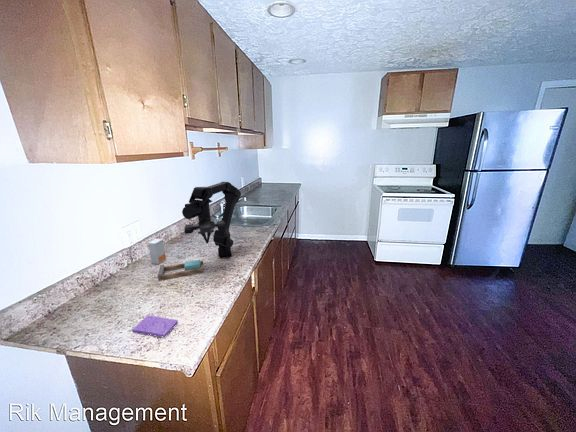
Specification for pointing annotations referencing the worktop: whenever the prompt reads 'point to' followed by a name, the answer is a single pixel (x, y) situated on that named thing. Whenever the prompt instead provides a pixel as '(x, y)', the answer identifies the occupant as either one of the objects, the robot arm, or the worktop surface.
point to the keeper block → (192, 265)
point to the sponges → (155, 325)
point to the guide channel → (177, 274)
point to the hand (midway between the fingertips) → (207, 243)
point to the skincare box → (157, 251)
